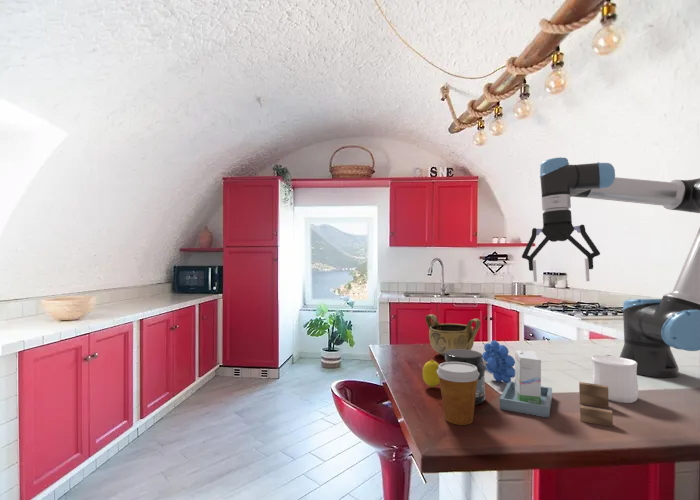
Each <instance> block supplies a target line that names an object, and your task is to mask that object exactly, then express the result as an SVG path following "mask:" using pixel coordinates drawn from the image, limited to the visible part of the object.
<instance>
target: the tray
mask: <svg viewBox="0 0 700 500" xmlns="http://www.w3.org/2000/svg"><path fill="white" fill-rule="evenodd" d="M552 400H553V388H552V387H549V386H543V385H541V405H540V404H535V403H529V402H523V401H518V399H517V397H516V395H515V381H511V382H508V384H506V385H505V388H504V389H503V392H502V393H501V395H500V397H499V409H500V410H504V411H510V412H515V413H520V414H524V413H525V415H530V414H531V416H535V415H536V416H535V417H540V416H541V417H542V418H546V417H547V419H549V418H550V413H551V407H552ZM541 417H540V418H541Z"/></svg>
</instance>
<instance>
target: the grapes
mask: <svg viewBox="0 0 700 500" xmlns="http://www.w3.org/2000/svg"><path fill="white" fill-rule="evenodd" d="M483 347H484V348H483V349H484V352H483V353H482V357H483V361H484V362H486V364H485V370H486V371H487V372H489V373H490V374H492V375H493V376H492V377H493V379H494V380H495V381H496V382H503V383H505V384H506V385H507V384H508V382H512V378H513V379H515V358H514V357H513V356H511V355H510V354H509V352H510V351H509V348H508V347H507V346H506V345H504V344H500V343H499V342H498V341H497V340H492V341H491V342H490V343H489V342H487V343H485V344H484V346H483Z"/></svg>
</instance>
